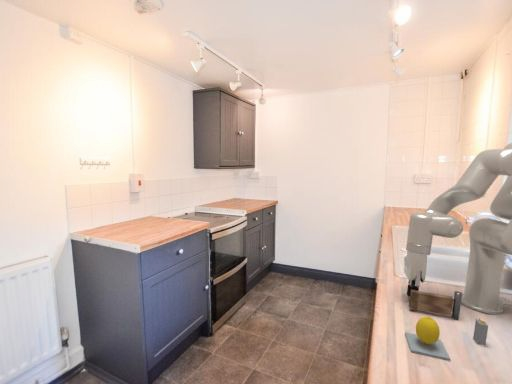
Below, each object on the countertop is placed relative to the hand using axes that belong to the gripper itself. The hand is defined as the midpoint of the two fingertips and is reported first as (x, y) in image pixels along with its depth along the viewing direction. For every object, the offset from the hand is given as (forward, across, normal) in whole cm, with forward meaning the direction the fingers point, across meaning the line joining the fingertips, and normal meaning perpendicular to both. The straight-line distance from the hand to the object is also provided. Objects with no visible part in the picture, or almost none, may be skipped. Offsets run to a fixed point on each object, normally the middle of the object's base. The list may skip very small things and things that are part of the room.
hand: (412, 296), depth 99 cm
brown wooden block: (+1, +7, +4) cm, 8 cm away
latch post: (+2, +18, +14) cm, 23 cm away
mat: (+2, +26, -2) cm, 27 cm away
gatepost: (+2, +7, +11) cm, 13 cm away
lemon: (+2, +26, -2) cm, 26 cm away
